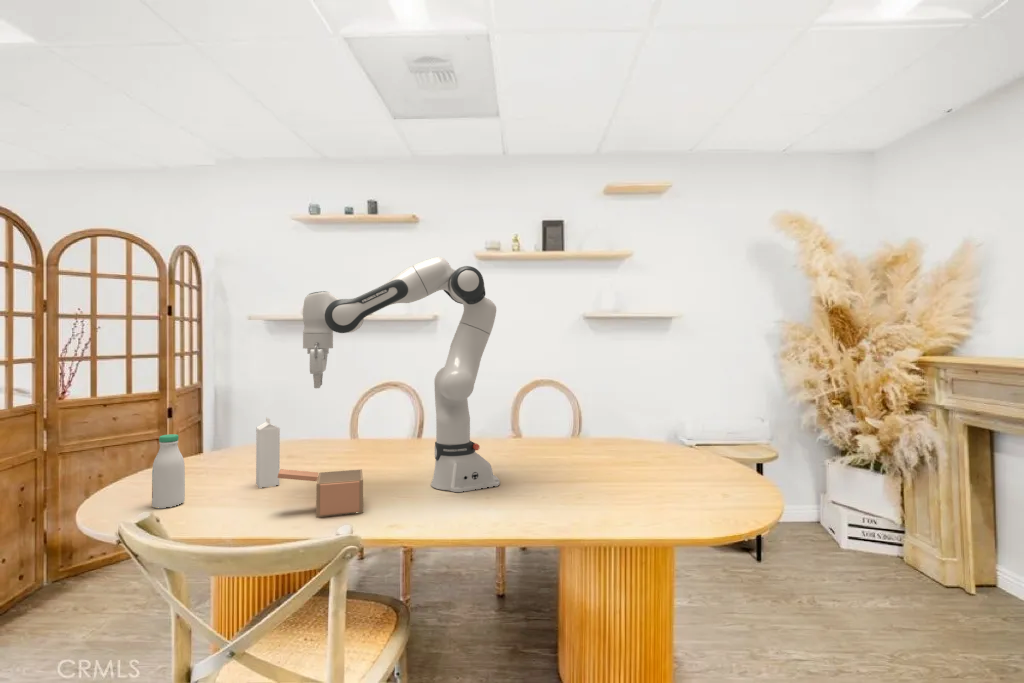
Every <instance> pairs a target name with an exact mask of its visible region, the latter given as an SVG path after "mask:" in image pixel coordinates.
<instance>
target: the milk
mask: <svg viewBox="0 0 1024 683" xmlns="http://www.w3.org/2000/svg"><path fill="white" fill-rule="evenodd" d="M255 430H256V431H255V433H256V436H255V438H256V439H255V440H256V442H255V444H256V446H255V448H256V449H255V451H256V452H255V454H256V455H255V457H256V458H255V460H256V461H255V470H256V471H255V477H256V479H255V485H256V484H257V485H258V486H257V485H256V486H257V488H261V489H263V488H262V487H267V488H270V487H269V486H273V487H277V486H276V485H279V486H280V479H281V478H278V473H279V471H280V469H281V468H280V467H281V466H280V462H281V461H280V458H281V457H280V456H281V455H280V450H281V449H280V448H281V445H280V444H281V443H280V442H281V441H280V438H281V436H280V435H281V434H280V433H281V428H280V427H279V426H277V425H275V424H273V423H271V419H270V418H269V417H267V416H266V417H265V421H264V422H263V423H261V424H259V425H258V426H256V429H255Z"/></svg>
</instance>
